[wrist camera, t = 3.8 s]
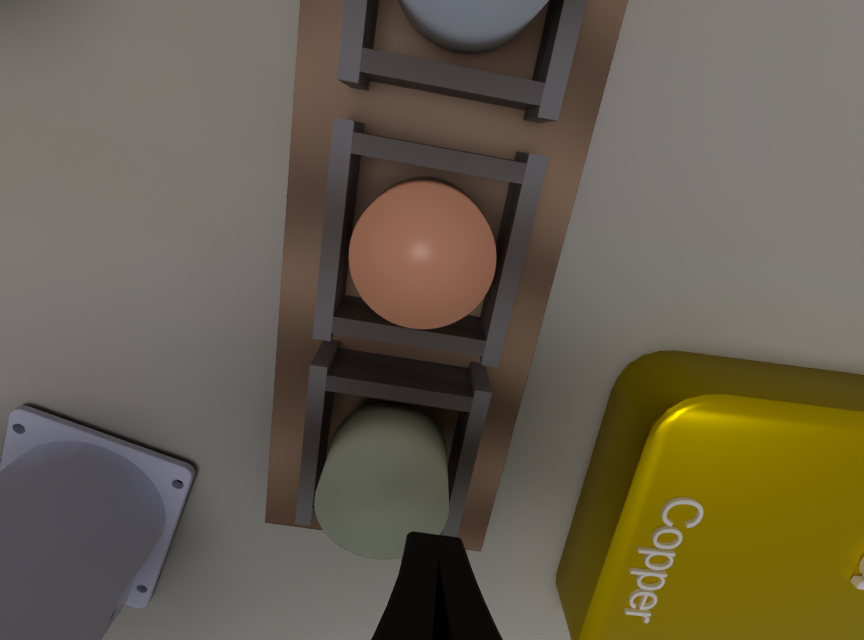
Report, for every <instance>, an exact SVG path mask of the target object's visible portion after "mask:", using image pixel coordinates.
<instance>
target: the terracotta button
mask: <svg viewBox="0 0 864 640" xmlns="http://www.w3.org/2000/svg"><path fill="white" fill-rule="evenodd" d="M349 267H350V272H351V276H352V279H353V282H354V285H355V287H356V289H357V291H358V292H359V294H360V296H361V297H362V298H363V300H364V301H365V302H366V304H367V305H368V306H369V307H370V308H371V309H372V310H373V311H375V312H376V313H377V314H378V315H380V316H381V317H383V318H384V319H386V320H388V321H390V322H392V323H394V324H397V325H400V326H403V327H407V328H412V329H433V328H439V327H443V326H447V325H449V324H452V323H454V322H456V321H458V320H460V319H462V318H463V317H465V316H466V315H468V314H469V313H470V312H471V311H473V310H474V309H475V308H476V307H477V306H478V305H479V303H480V302H481V301H482V300H483V298H484V297H485V295H486V293H487V292H488V290H489V288H490V286H491V283H492V281H493V277H494V274H495V268H496V246H495V241H494V237H493V234H492V231H491V229H490V227H489V225H488V223H487V221H486V219H485V218H484V216H483V215H482V213H481V212H480V210H479V209H478V207H477V206H476V204H475V203H474V202H473V200H472V199H471V198H470V197H469V196H468V195H467V194H466V193H465V192H464V191H463V190H462V189H460V188H459V187H457V186H456V185H454V184H452V183H450V182H448V181H445V180H443V179H439V178H434V177H414V178H409V179H405V180H402V181H400V182H398V183H395V184H393V185H392V186H390V187H389V188H387V189H386V190H385V191H384V192H382V193H381V194H380V195H379V196H378V197H377V199H376V200H375V201H374V202H373V203H372V204H371V205H370V206H369V207H368V208H367V209H366V211H365V212H364V213H363V214H362V216H361V217H360V219H359V220H358V222H357V224H356V226H355V228H354V231H353V234H352V237H351V241H350V246H349Z"/></svg>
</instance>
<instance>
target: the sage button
mask: <svg viewBox="0 0 864 640" xmlns="http://www.w3.org/2000/svg"><path fill="white" fill-rule="evenodd" d="M314 507H315V513H316V517H317V520H318V522H319V524H320V526H321V528H322V529H323V531H324V532H325V533H326V535H327V536H328V537H329V538H330V539H331V540H332V541H333V542H335V543H336V544H337V545H339V546H340V547H342V548H343V549H345V550H347V551H349V552H351V553H354V554H356V555H359V556H363V557H367V558H372V559H396V558H401V557H403V552H404V547H405V541H406V536H407V534H408V533H410V532H412V531H414V532H422V533H429V534H436V535H440V533H441V532H442V530H443V529H444V527H445V525H446V522H447V519H448V514H449V491H448V470H447V449H446V442H445V439H444V436H443V434H442V432H441V430H440V428H439V427H438V426H437V424H436V423H435V422H434V421H433V420H432V419H431V418H430V417H429V416H428V415H426V414H425V413H423V412H422V411H420V410H418V409H416V408H414V407H412V406H409V405H406V404H401V403H395V402H380V403H374V404H370V405H366V406H364V407H361V408H359V409H357V410H356V411H354V412H352V413H351V414H350V415H348V416H347V417H346V418H345V419H344V420H343V421H342V423H341V424H340V425H339V427H338V429H337V430H336V432H335V435H334V438H333V441H332V444H331V447H330V450H329V453H328V456H327V459H326V462H325V465H324V468H323V471H322V474H321V477H320V480H319V483H318V486H317V489H316V493H315V498H314Z"/></svg>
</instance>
